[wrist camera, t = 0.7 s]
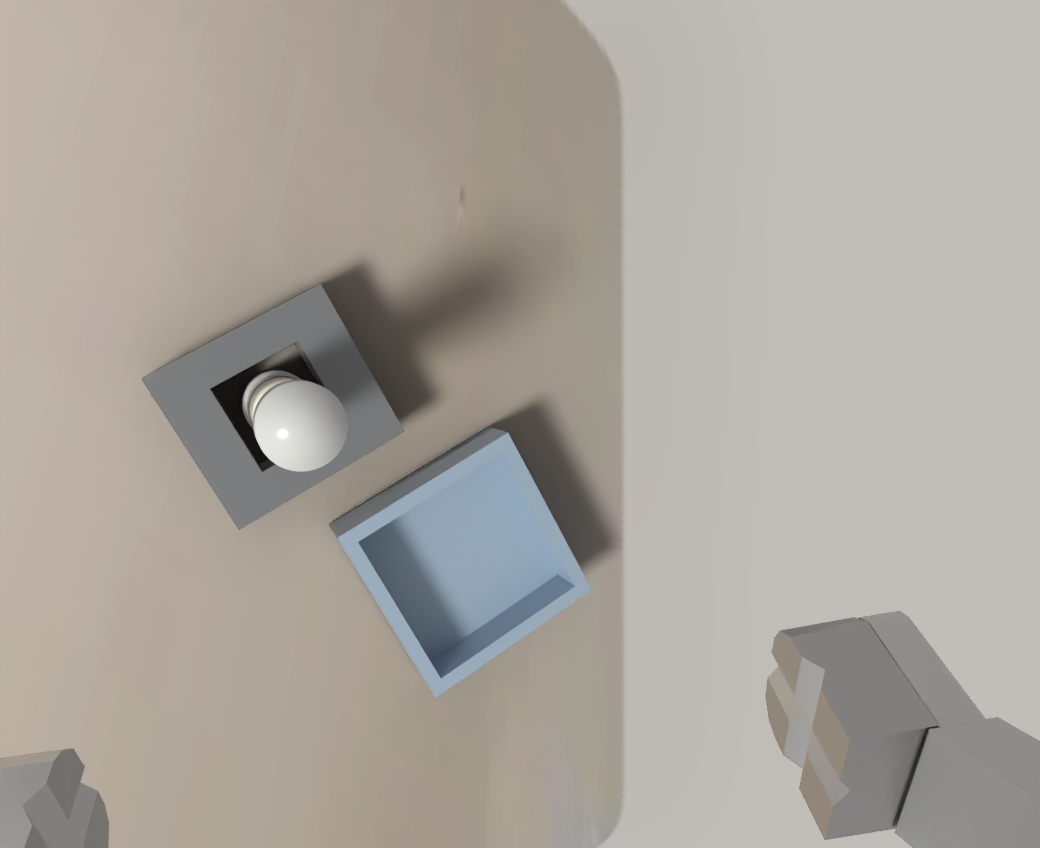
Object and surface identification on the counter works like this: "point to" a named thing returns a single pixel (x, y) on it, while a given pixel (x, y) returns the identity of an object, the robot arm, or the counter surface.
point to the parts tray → (462, 557)
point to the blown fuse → (294, 420)
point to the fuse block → (193, 375)
